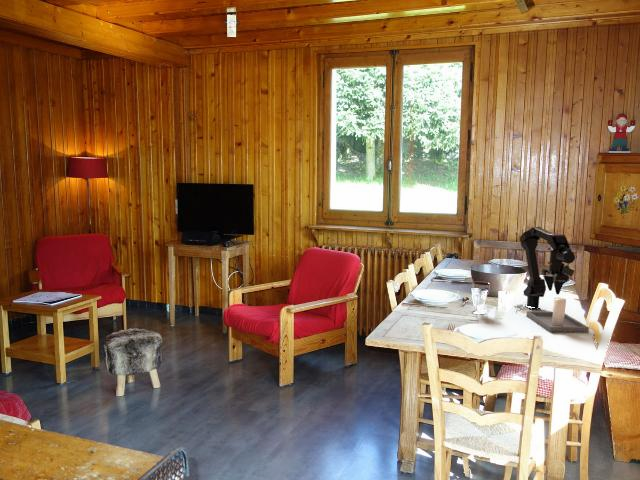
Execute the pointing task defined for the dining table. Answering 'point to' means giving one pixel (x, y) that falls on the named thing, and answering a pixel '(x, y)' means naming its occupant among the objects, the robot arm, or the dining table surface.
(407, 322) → the dining table surface
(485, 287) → the wine glass
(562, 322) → the canister
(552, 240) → the robot arm
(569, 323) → the tray
